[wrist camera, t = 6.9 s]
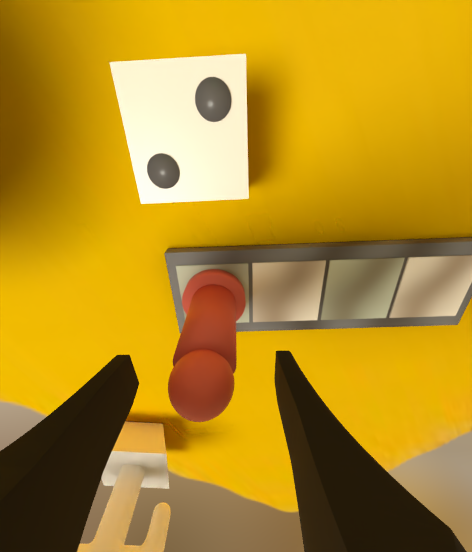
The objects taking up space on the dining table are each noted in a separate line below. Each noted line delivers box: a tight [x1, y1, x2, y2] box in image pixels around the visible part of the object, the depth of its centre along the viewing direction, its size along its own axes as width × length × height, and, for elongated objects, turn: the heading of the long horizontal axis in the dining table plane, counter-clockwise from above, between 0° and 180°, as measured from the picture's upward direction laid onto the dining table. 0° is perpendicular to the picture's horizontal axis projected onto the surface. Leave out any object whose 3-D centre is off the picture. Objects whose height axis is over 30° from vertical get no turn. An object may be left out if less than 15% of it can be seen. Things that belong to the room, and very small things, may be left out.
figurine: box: [77, 421, 170, 552], centre depth 20 cm, size 7×9×15 cm
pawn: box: [168, 269, 246, 422], centre depth 13 cm, size 5×5×9 cm
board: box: [165, 237, 472, 333], centre depth 18 cm, size 23×7×1 cm, turn 92°
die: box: [110, 54, 249, 204], centre depth 12 cm, size 5×5×5 cm
